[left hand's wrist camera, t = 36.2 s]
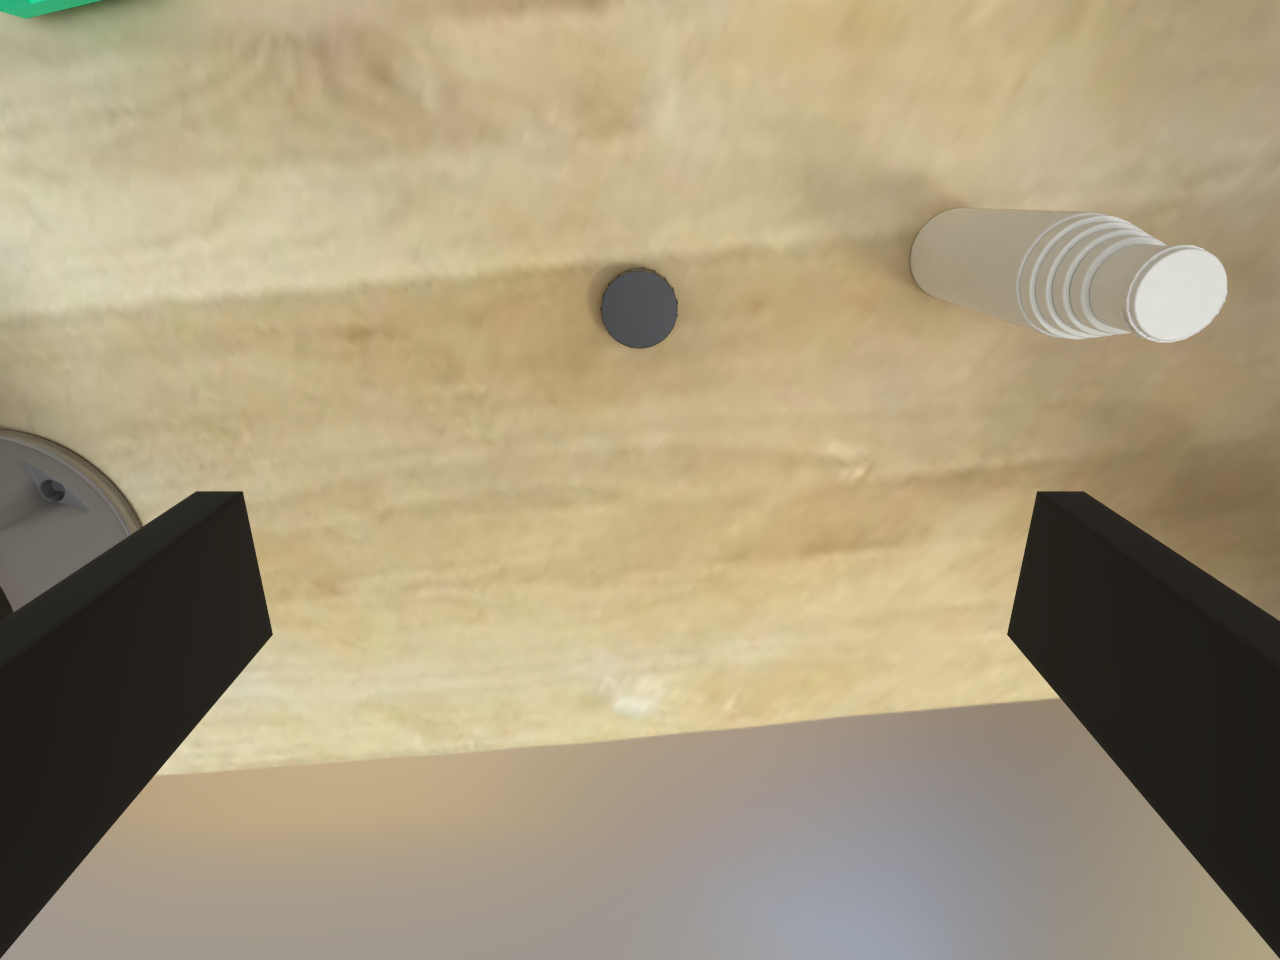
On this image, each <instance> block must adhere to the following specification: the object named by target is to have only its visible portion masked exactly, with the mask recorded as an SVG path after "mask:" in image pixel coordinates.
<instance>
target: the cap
mask: <svg viewBox="0 0 1280 960" xmlns="http://www.w3.org/2000/svg"><path fill="white" fill-rule="evenodd" d="M602 297H603V300H602V306H601V312H602V319H603V323H604V325H605V327H606V329H607V331H608V332H609V334H610V335H611V336H612V337H613V338H614V339H615V340H616V341H618V342H619V343H621V344H623V345H625V346H628V347H632V348H647V347H651V346H654V345H656V344H658V343H660V342H661V341H662V340H664V339H665V338H666V337H667V336H668V335H669V333H670V332H671V330H672V329H673V328H674V325H675V322H676V318H677V317H678V314H677V310H678V309H677V304H678V301H677V299H676V297H675V294H674V289H673V287H671V286H670V284H669V283H668V282H667V280H666V278H664V277H662V276H661V275H660V274H658V273H656V271H655V270H654V271H652V270H649V269H644V268H643V267H642V268H636V269H631V268H630V269H629V270H627V271H624V272H623V273H621V274H618V276H616V277H615V278H614V279H613V280H612V282H609V284H608V287H607V289H606V292H605V293H604V294H603V296H602Z"/></svg>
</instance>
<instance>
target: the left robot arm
mask: <svg viewBox="0 0 1280 960" xmlns="http://www.w3.org/2000/svg"><path fill="white" fill-rule="evenodd" d="M272 635H273V633H272V629H271V624H270V619H269V614H268V610H267V605H266V600H265V595H264V590H263V586H262V581H261V576H260V571H259V567H258V562H257V557H256V552H255V548H254V543H253V538H252V533H251V529H250V524H249V519H248V514H247V510H246V505H245V500H244V495H243V492H195V493H193V494H192V495H190V496H189V497H187V498H186V499H184V500H183V501H181V502H180V503H178V504H177V505H175V506H174V507H172V508H171V509H169V510H168V511H166V512H165V513H163V514H162V515H160V516H159V517H157V518H156V519H154V520H152V521H151V522H149V523H148V524H146V525H145V526H143V527H142V528H141V525H140V523H139V521H138V519H137V517H136V515H135V513H134V512H133V510H132V509H131V507H130V506H129V504H128V502H127V501H126V500H125V498H124V497H123V496H122V495H121V493H120V492H119V491H118V490H117V489H116V488H115V486H114V485H113V484H112V483H111V482H110V481H109V480H108V479H107V478H106V477H105V476H104V475H103V474H102V473H100V472H99V471H98V470H97V469H95V468H94V467H93V466H92V465H90V464H89V463H88V462H86V461H85V460H83V459H82V458H81V457H79V456H77V455H76V454H74V453H72V452H71V451H69V450H67V449H65V448H63V447H61V446H59V445H57V444H55V443H52V442H50V441H48V440H45V439H43V438H39V437H36V436H33V435H30V434H26V433H22V432H17V431H10V430H2V429H0V958H1V957H2V956H3V955H4V954H5V952H6V951H7V950H8V949H9V948H10V946H11V945H12V944H13V943H14V942H15V940H16V939H17V938H18V937H19V936H20V935H21V933H22V932H23V931H24V930H25V929H26V927H27V926H28V925H29V924H30V923H31V921H32V920H33V919H34V918H35V917H36V915H37V914H38V913H39V912H40V911H41V910H42V908H43V907H44V906H45V905H46V904H47V902H48V901H49V900H50V899H51V898H52V896H53V895H54V894H55V893H56V892H57V890H58V889H59V888H60V887H61V886H62V885H63V883H64V882H65V881H66V880H67V879H68V877H69V876H70V875H71V874H72V873H73V872H74V870H75V869H76V868H77V867H78V866H79V864H80V863H81V862H82V861H83V860H84V858H85V857H86V856H87V855H88V854H89V852H90V851H91V850H92V849H93V848H94V847H95V845H96V844H97V843H98V842H99V841H100V839H101V838H102V837H103V836H104V835H105V833H106V832H107V831H108V830H109V829H110V828H111V826H112V825H113V824H114V823H115V822H116V820H117V819H118V818H119V817H120V816H121V814H122V813H123V812H124V811H125V810H126V808H127V807H128V806H129V805H130V804H131V802H132V801H133V800H134V799H135V798H136V797H137V795H138V794H139V793H140V792H141V791H142V789H143V788H144V787H145V786H146V785H147V783H148V782H149V781H150V780H151V779H152V778H153V776H154V775H155V774H156V773H157V772H158V770H159V769H160V768H161V767H162V766H163V765H164V763H165V762H166V761H167V760H168V759H169V757H170V756H171V755H172V754H173V753H174V751H175V750H176V749H177V748H178V747H179V745H180V744H181V743H182V742H183V741H184V740H185V738H186V737H187V736H188V735H189V734H190V732H191V731H192V730H193V729H194V728H195V726H196V725H197V724H198V723H199V722H200V721H201V719H202V718H203V717H204V716H205V715H206V713H207V712H208V711H209V710H210V709H211V707H212V706H213V705H214V704H215V703H216V702H217V700H218V699H219V698H220V697H221V696H222V694H223V693H224V692H225V691H226V690H227V688H228V687H229V686H230V685H231V684H232V682H233V681H234V680H235V679H236V678H237V677H238V675H239V674H240V673H241V672H242V671H243V669H244V668H245V667H246V666H247V665H248V663H249V662H250V661H251V660H252V659H253V658H254V656H255V655H256V654H257V653H258V652H259V650H260V649H261V648H262V647H263V646H264V644H265V643H266V642H267V641H268V640H269V639H270V637H271V636H272ZM1007 635H1008V636H1009V637H1010V639H1011V640H1012V641H1013V642H1014V643H1015V644H1016V646H1017V647H1018V648H1019V649H1020V650H1021V652H1022V653H1023V654H1024V655H1025V656H1026V658H1027V659H1028V660H1029V661H1030V662H1031V663H1032V665H1033V666H1034V667H1035V668H1036V669H1037V671H1038V672H1039V673H1040V674H1041V675H1042V677H1043V678H1044V679H1045V680H1046V681H1047V682H1048V684H1049V685H1050V686H1051V687H1052V688H1053V690H1054V691H1055V692H1056V693H1057V694H1058V696H1059V697H1060V698H1061V699H1062V700H1063V701H1064V703H1065V704H1066V705H1067V706H1068V707H1069V709H1070V710H1071V711H1072V712H1073V713H1074V715H1075V716H1076V717H1077V718H1078V719H1079V721H1080V722H1081V723H1082V724H1083V725H1084V726H1085V728H1086V729H1087V730H1088V731H1089V732H1090V734H1091V735H1092V736H1093V737H1094V738H1095V740H1096V741H1097V742H1098V743H1099V744H1100V745H1101V747H1102V748H1103V749H1104V750H1105V751H1106V753H1107V754H1108V755H1109V756H1110V757H1111V759H1112V760H1113V761H1114V762H1115V763H1116V765H1117V766H1118V767H1119V768H1120V769H1121V770H1122V772H1123V773H1124V774H1125V775H1126V776H1127V778H1128V779H1129V780H1130V781H1131V782H1132V784H1133V785H1134V786H1135V787H1136V788H1137V789H1138V791H1139V792H1140V793H1141V794H1142V795H1143V797H1144V798H1145V799H1146V800H1147V801H1148V803H1149V804H1150V805H1151V806H1152V807H1153V809H1154V810H1155V811H1156V812H1157V813H1158V814H1159V816H1160V817H1161V818H1162V819H1163V820H1164V822H1165V823H1166V824H1167V825H1168V826H1169V827H1170V829H1171V830H1172V831H1173V832H1174V833H1175V835H1176V836H1177V837H1178V838H1179V839H1180V841H1181V842H1182V843H1183V844H1184V845H1185V847H1186V848H1187V849H1188V850H1189V851H1190V852H1191V854H1192V855H1193V856H1194V857H1195V858H1196V860H1197V861H1198V862H1199V863H1200V864H1201V866H1202V867H1203V868H1204V869H1205V870H1206V871H1207V873H1208V874H1209V875H1210V876H1211V877H1212V879H1213V880H1214V881H1215V882H1216V883H1217V885H1218V886H1219V887H1220V888H1221V889H1222V891H1223V892H1224V893H1225V894H1226V895H1227V896H1228V898H1229V899H1230V900H1231V901H1232V902H1233V904H1234V905H1235V906H1236V907H1237V908H1238V910H1239V911H1240V912H1241V913H1242V914H1243V916H1244V917H1245V918H1246V919H1247V920H1248V921H1249V923H1250V924H1251V925H1252V926H1253V927H1254V929H1255V930H1256V931H1257V932H1258V933H1259V934H1260V936H1261V937H1262V938H1263V939H1264V940H1265V942H1266V943H1267V944H1268V945H1269V946H1270V948H1271V949H1272V950H1273V951H1274V952H1275V954H1276V955H1277V956H1278V957H1279V958H1280V621H1279V620H1277V619H1276V618H1274V617H1273V616H1271V615H1270V614H1268V613H1267V612H1265V611H1264V610H1262V609H1261V608H1259V607H1258V606H1256V605H1254V604H1253V603H1251V602H1250V601H1248V600H1247V599H1245V598H1244V597H1242V596H1241V595H1239V594H1238V593H1236V592H1235V591H1233V590H1232V589H1230V588H1229V587H1227V586H1226V585H1224V584H1223V583H1221V582H1220V581H1218V580H1217V579H1215V578H1214V577H1212V576H1211V575H1209V574H1208V573H1206V572H1205V571H1203V570H1202V569H1200V568H1199V567H1197V566H1196V565H1194V564H1193V563H1191V562H1189V561H1188V560H1186V559H1185V558H1183V557H1182V556H1180V555H1179V554H1177V553H1176V552H1174V551H1173V550H1171V549H1170V548H1168V547H1167V546H1165V545H1164V544H1162V543H1161V542H1159V541H1158V540H1156V539H1155V538H1153V537H1152V536H1150V535H1149V534H1147V533H1146V532H1144V531H1143V530H1141V529H1140V528H1138V527H1137V526H1135V525H1134V524H1132V523H1131V522H1129V521H1128V520H1126V519H1124V518H1123V517H1121V516H1120V515H1118V514H1117V513H1115V512H1114V511H1112V510H1111V509H1109V508H1108V507H1106V506H1105V505H1103V504H1102V503H1100V502H1099V501H1097V500H1096V499H1094V498H1093V497H1091V496H1090V495H1088V494H1087V493H1085V492H1037V495H1036V500H1035V505H1034V510H1033V514H1032V519H1031V524H1030V529H1029V533H1028V538H1027V543H1026V548H1025V552H1024V557H1023V562H1022V567H1021V571H1020V576H1019V581H1018V586H1017V590H1016V595H1015V600H1014V605H1013V609H1012V614H1011V619H1010V624H1009V629H1008V633H1007Z"/></svg>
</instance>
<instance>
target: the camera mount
mask: <svg viewBox="0 0 1280 960" xmlns="http://www.w3.org/2000/svg"><path fill="white" fill-rule="evenodd" d="M97 1H101V0H0V11H1V12H5V13H8V14H11V15H15V16H18V17H22V18H25V19H27V18H31V17H35V16H39V15H43V14H48V13H52V12H56V11H60V10H64V9H68V8H72V7H76V6H80V5H84V4H88V3H93V2H97Z"/></svg>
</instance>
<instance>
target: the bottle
mask: <svg viewBox="0 0 1280 960" xmlns="http://www.w3.org/2000/svg"><path fill="white" fill-rule="evenodd" d="M910 266H911V271H912V275H913V277H914V279H915V281H916V283H917V284H918V286H919V287H920V288H921V289H922V290H923V291H924V292H925V293H927V294H928V295H930V296H932V297H935V298H938V299H941V300H944V301H947V302H950V303H953V304H955V305H958V306H961V307H964V308H967V309H970V310H973V311H976V312H979V313H982V314H985V315H988V316H991V317H994V318H997V319H1000V320H1003V321H1006V322H1009V323H1012V324H1015V325H1018V326H1021V327H1024V328H1027V329H1030V330H1033V331H1035V332H1038V333H1041V334H1044V335H1047V336H1051V337H1055V338H1067V339H1075V340H1077V339H1088V338H1097V337H1103V336H1111V335H1118V334H1127V333H1131V332H1132V333H1134V334H1135V335H1136V336H1138V337H1141V338H1144V339H1148V340H1152V341H1155V342H1163V343H1171V342H1175V341H1179V340H1184V339H1186V338H1188V337H1190V336H1192V335H1194V334H1197V333H1198V332H1199V331H1200V330H1202V329H1203V328H1204V327H1205V326H1207V325H1208V324H1209V323H1210V322H1211V321H1212V320H1213V318H1214V317H1215V316H1216V315H1218V313H1219V311H1220V309H1221V307H1222V305H1223V303H1225V299H1226V295H1227V292H1228V289H1227V276H1226V272H1225V269H1224V267H1223V265H1222V263H1221V262H1220V261H1219V259H1218V258H1217V257H1215V256H1214V255H1213V254H1211V253H1210V252H1208V251H1206V250H1204V249H1203V248H1200V247H1197V246H1194V245H1176V246H1167V245H1166V244H1164V243H1163V242H1161V241H1160V240H1158V239H1155V238H1154V237H1153V236H1151V235H1149V234H1148V233H1146V232H1144V231H1143V230H1141V229H1140V228H1138V227H1136V226H1134V225H1133V224H1131V223H1130V222H1128V221H1126V220H1124V219H1121V218H1118V217H1114V216H1110V215H1107V214H1103V213H1097V212H1073V211H1041V210H1009V209H977V208H956V209H950V210H947V211H944V212H942V213H940V214H938V215H937V216H935V217H933V218H932V219H931V220H930V221H928V222H927V223H926V224H925V225H924V227H923V228H922V229H921V230H920V232H919V233H918V235H917V237H916V239H915V241H914V243H913V246H912V250H911V257H910Z"/></svg>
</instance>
